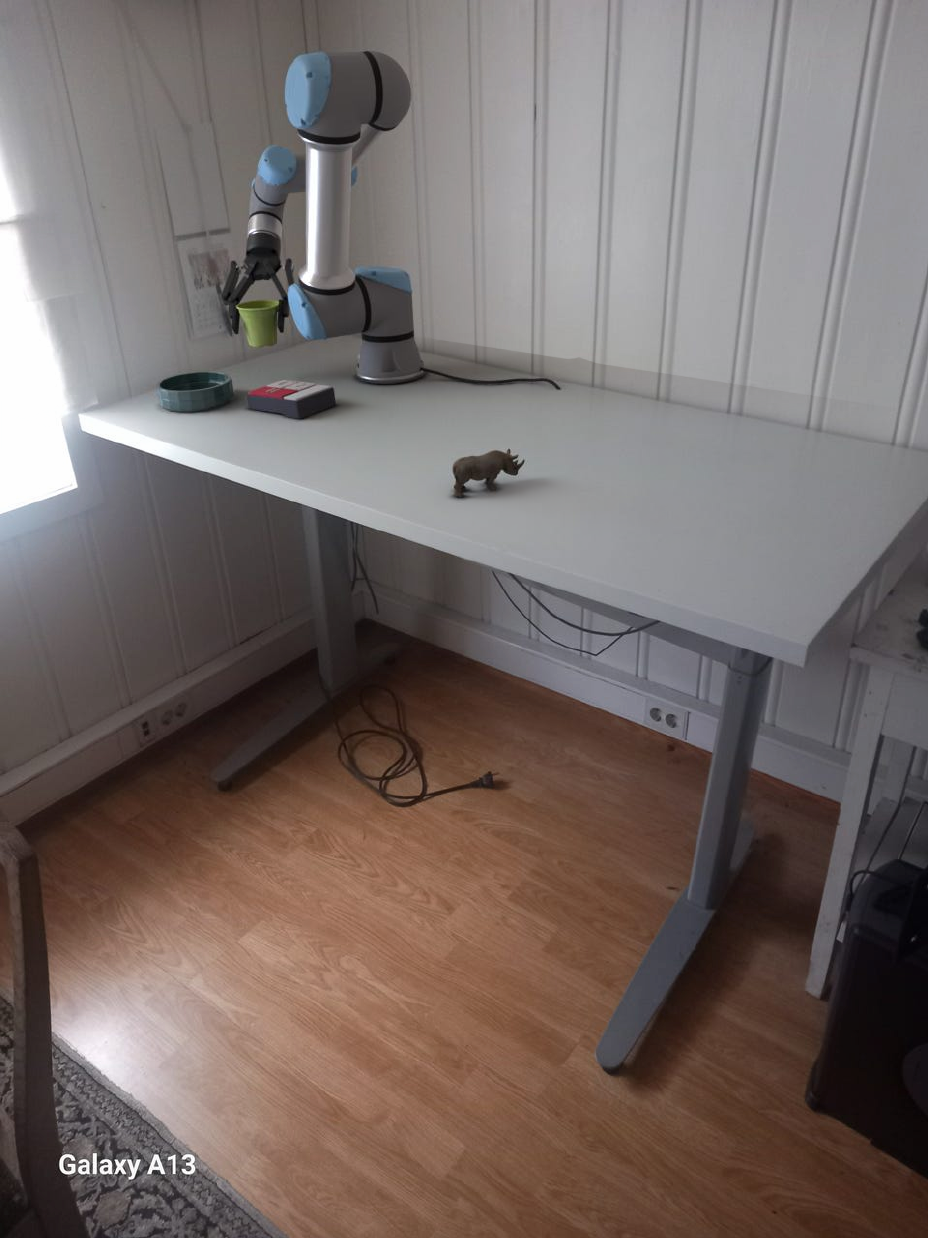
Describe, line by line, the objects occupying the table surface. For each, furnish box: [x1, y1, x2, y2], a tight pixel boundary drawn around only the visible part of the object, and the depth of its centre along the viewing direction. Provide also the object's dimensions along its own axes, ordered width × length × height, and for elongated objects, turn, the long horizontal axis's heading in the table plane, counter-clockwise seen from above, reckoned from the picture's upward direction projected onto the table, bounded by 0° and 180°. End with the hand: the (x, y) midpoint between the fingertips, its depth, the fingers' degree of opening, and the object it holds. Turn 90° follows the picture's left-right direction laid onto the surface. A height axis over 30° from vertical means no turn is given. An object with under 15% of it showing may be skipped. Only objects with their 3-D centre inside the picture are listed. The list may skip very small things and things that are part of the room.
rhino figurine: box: [452, 448, 526, 498], centre depth 155 cm, size 4×14×6 cm, turn 119°
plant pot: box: [236, 299, 279, 348], centre depth 212 cm, size 9×9×9 cm
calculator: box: [245, 379, 337, 420], centre depth 198 cm, size 11×4×15 cm
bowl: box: [155, 370, 235, 413], centre depth 204 cm, size 15×15×4 cm
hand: (257, 329), depth 209 cm, fingers closed on plant pot, 9 cm apart
